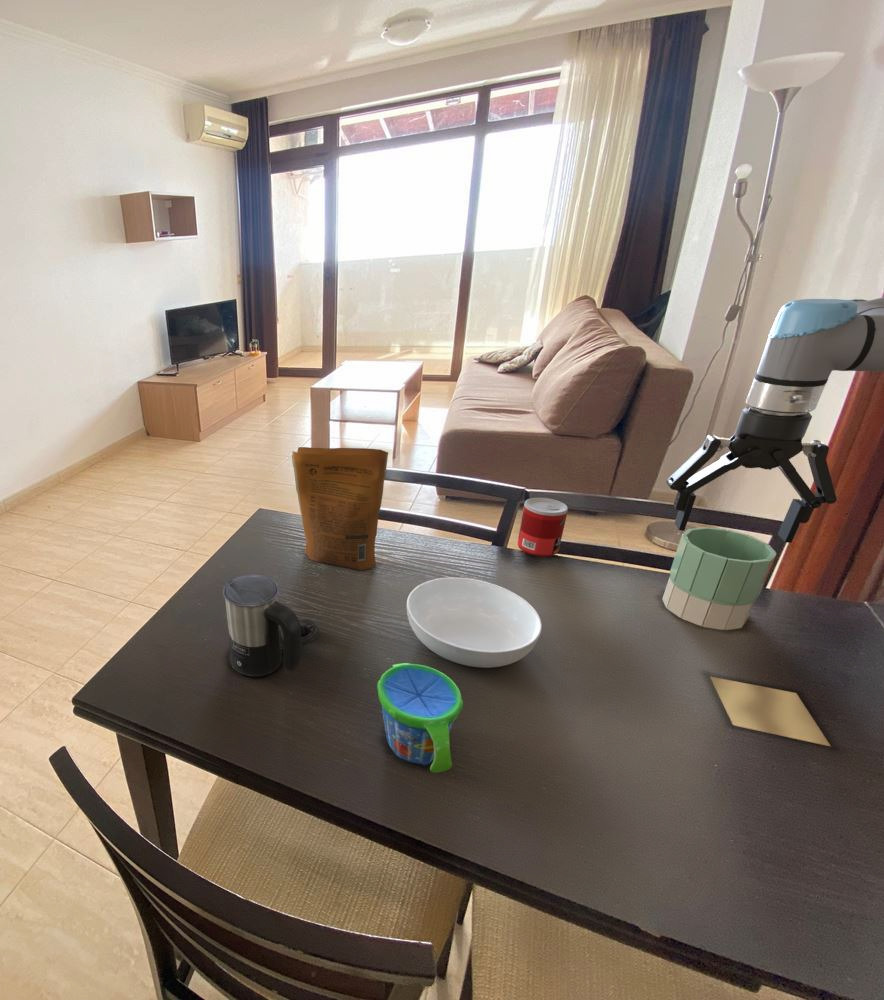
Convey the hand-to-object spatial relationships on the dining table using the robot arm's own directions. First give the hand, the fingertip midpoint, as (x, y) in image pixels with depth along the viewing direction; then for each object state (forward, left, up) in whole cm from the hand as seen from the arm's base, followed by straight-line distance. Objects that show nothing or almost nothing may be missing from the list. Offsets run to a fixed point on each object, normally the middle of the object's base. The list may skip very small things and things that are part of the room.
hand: (730, 532), depth 90 cm
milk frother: (+69, +35, -16) cm, 79 cm away
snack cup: (+44, +47, -16) cm, 66 cm away
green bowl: (0, 0, -14) cm, 14 cm away
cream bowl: (0, 0, -16) cm, 16 cm away
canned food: (+25, -15, -16) cm, 33 cm away
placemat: (-1, +24, -16) cm, 29 cm away
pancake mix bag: (+65, +3, -16) cm, 67 cm away
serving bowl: (+38, +22, -16) cm, 47 cm away
